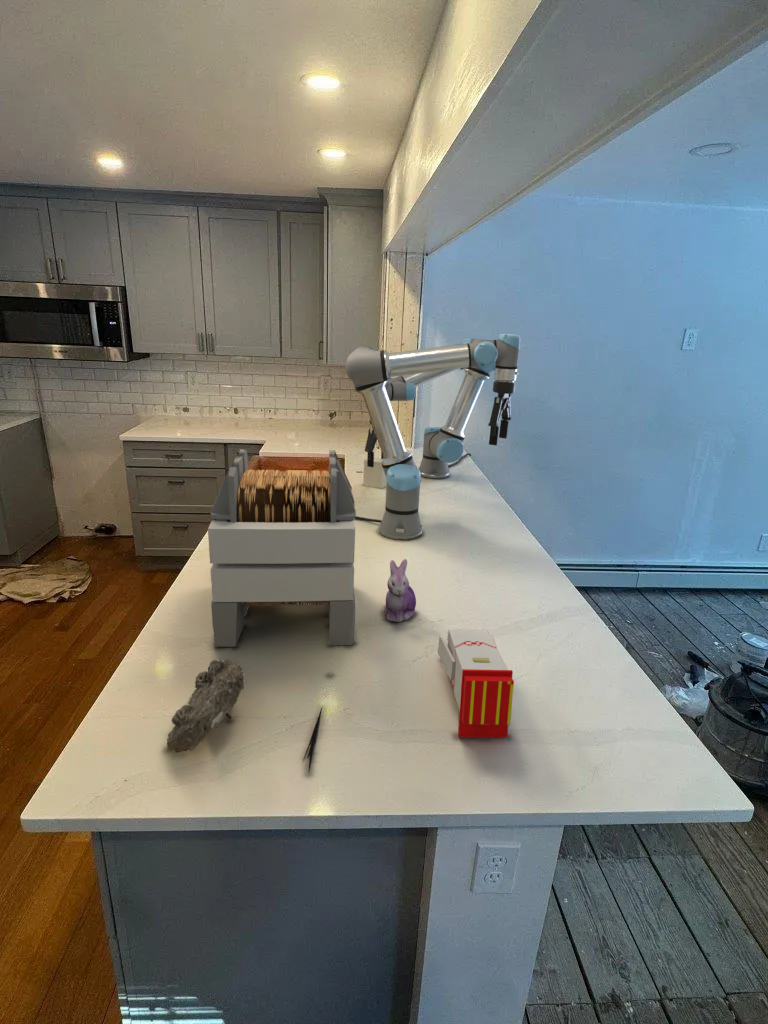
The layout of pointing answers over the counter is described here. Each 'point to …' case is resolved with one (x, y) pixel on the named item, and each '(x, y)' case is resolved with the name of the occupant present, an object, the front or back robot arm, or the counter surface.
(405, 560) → the figurine
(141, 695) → the counter surface
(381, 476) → the block
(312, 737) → the feather
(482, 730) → the toy
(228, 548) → the transformer
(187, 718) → the fossil
